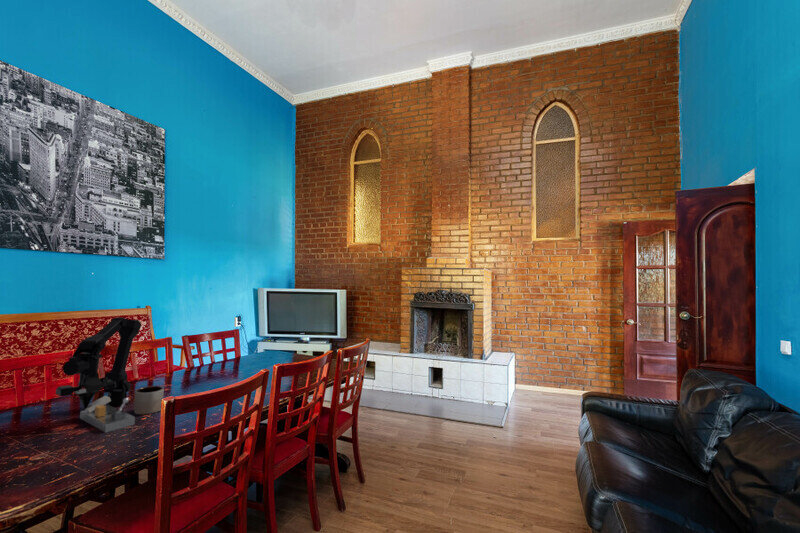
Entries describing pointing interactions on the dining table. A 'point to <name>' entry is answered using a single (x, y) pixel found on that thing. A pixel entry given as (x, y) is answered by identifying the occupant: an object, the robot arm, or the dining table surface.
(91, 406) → the rocker
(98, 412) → the slider
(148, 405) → the planter
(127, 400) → the toggle
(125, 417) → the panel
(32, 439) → the dining table surface
